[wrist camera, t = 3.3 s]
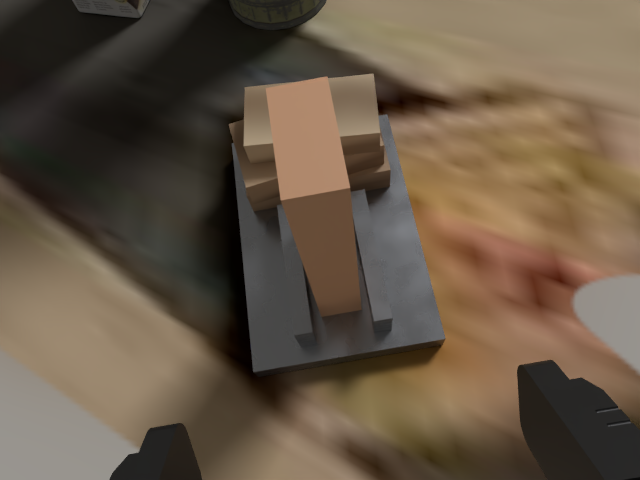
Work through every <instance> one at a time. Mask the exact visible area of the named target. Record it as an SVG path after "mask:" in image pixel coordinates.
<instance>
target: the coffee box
mask: <svg viewBox="0 0 640 480" xmlns="http://www.w3.org/2000/svg"><path fill="white" fill-rule="evenodd" d="M72 1H73V3H74V4H75V6H76V8H77V9H78V11H80V12H85V13H95V14H103V15H113V16H122V17H131V18H140V17H141V16H142V14H143V12H144V11H145V9H146V7H147V5H148V3H149V0H72Z"/></svg>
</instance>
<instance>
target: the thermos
mask: <svg viewBox="0 0 640 480" xmlns="http://www.w3.org/2000/svg"><path fill="white" fill-rule="evenodd" d="M229 3H230V6H231V8H232V10H233V12H234V15H235V16H236V17H238V18H239V19H240V20H241V21H242V22H243V23H245V24H247V25H250V26H252V27H254V28H257V29H265V30H279V29H287V28H291V27H293V26H296V25H299V24H302V23H304V22H306V21H307V20H308V19H310V18H311V17H313V16H314V15H316V14H317V13H318V12H319V10H320V9H321V8H322V7H323V6H324V4H325V3H326V0H229Z"/></svg>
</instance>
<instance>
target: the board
mask: <svg viewBox="0 0 640 480" xmlns="http://www.w3.org/2000/svg"><path fill="white" fill-rule="evenodd" d="M266 95H267V102H268V110H269V117H270V125H271V132H272V139H273V147H274V154H275V162H276V169H277V177H278V184H279V191H280V199H281V203H282V206H283V208H284V211H285V214H286V217H287V220H288V223H289V226H290V229H291V231H292V234H293V237H294V240H295V243H296V246H297V249H298V252H299V254H300V257H301V260H302V263H303V266H304V269H305V272H306V275H307V277H308V280H309V283H310V286H311V289H312V292H313V295H314V298H315V300H316V303H317V306H318V309H319V312H320V315H321V317H324V316H330V315H335V314H341V313H347V312H352V311H358V310H362V308H361V297H360V287H359V276H358V265H357V255H356V244H355V233H354V223H353V212H352V201H351V191H350V184H349V179H348V174H347V170H346V165H345V160H344V155H343V150H342V145H341V140H340V135H339V130H338V126H337V121H336V116H335V111H334V106H333V101H332V96H331V91H330V86H329V82H328V77H322V78H316V79H311V80H306V81H300V82H295V83H290V84H285V85H279V86H274V87H269V88H266Z"/></svg>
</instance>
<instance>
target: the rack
mask: <svg viewBox="0 0 640 480" xmlns="http://www.w3.org/2000/svg"><path fill="white" fill-rule="evenodd" d="M378 118H379V125H380V129H381V133H382V137H383V141H384V145H385V149H386V153H387V157H388V161H389V165H390V169H391V173H390V187H385V188H379V189H374V190H368V191H365V189H363V190H358V191H352V192H351V201H352V212H353V223H354V233H355V244H356V255H357V265H358V276H359V287H360V297H361V308H362V310H358V311H352V312H347V313H341V314H335V315H330V316H324V317H321V315H320V312H319V309H318V306H317V303H316V300H315V298H314V295H313V292H312V289H311V286H310V283H309V280H308V277H307V275H306V272H305V269H304V266H303V263H302V260H301V257H300V254H299V252H298V249H297V246H296V243H295V240H294V237H293V234H292V231H291V229H290V226H289V223H288V220H287V217H286V214H285V211H284V208H283V206H282V204H281V205H277V207H275V208H270V209H264V210H259V211H253V209H252V207H251V205H250V203H249V200H248V198H247V196H246V186H245V182H244V179H243V175H242V171H241V168H240V164H239V160H238V157H237V153H236V149H235V146H234V143H232V148H233V159H234V170H235V181H236V192H237V202H238V213H239V224H240V235H241V246H242V256H243V267H244V278H245V289H246V300H247V311H248V321H249V332H250V343H251V354H252V365H253V372H254V373H255V374H256V375H257V376H258V377H261V376H267V375H273V374H278V373H284V372H290V371H296V370H301V369H307V368H313V367H319V366H325V365H330V364H336V363H342V362H348V361H354V360H359V359H365V358H371V357H377V356H382V355H388V354H394V353H400V352H406V351H411V350H417V349H423V348H429V347H434V346H440V345H443V343H444V341H445V335H444V331H443V328H442V324H441V320H440V316H439V312H438V308H437V304H436V301H435V297H434V293H433V289H432V285H431V281H430V277H429V274H428V270H427V266H426V262H425V258H424V254H423V250H422V247H421V243H420V239H419V235H418V231H417V227H416V223H415V220H414V216H413V212H412V208H411V204H410V200H409V196H408V193H407V189H406V185H405V181H404V177H403V173H402V169H401V166H400V162H399V158H398V154H397V150H396V146H395V142H394V139H393V135H392V131H391V127H390V123H389V119H388V115H382V116H378Z"/></svg>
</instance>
